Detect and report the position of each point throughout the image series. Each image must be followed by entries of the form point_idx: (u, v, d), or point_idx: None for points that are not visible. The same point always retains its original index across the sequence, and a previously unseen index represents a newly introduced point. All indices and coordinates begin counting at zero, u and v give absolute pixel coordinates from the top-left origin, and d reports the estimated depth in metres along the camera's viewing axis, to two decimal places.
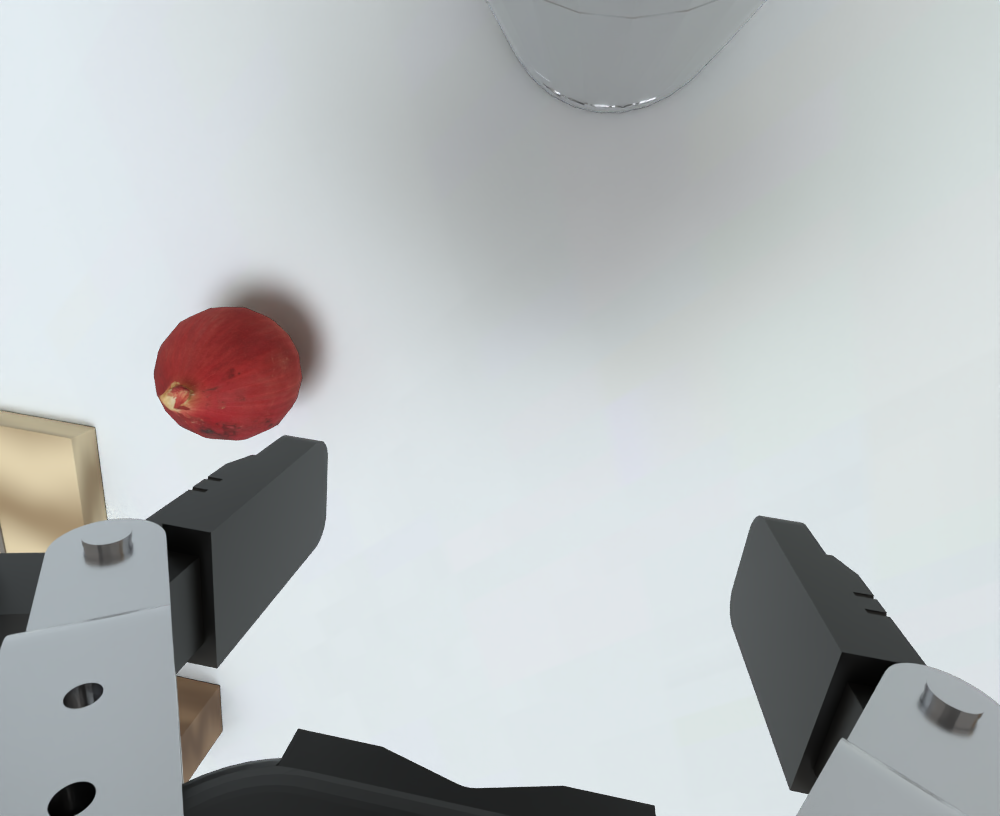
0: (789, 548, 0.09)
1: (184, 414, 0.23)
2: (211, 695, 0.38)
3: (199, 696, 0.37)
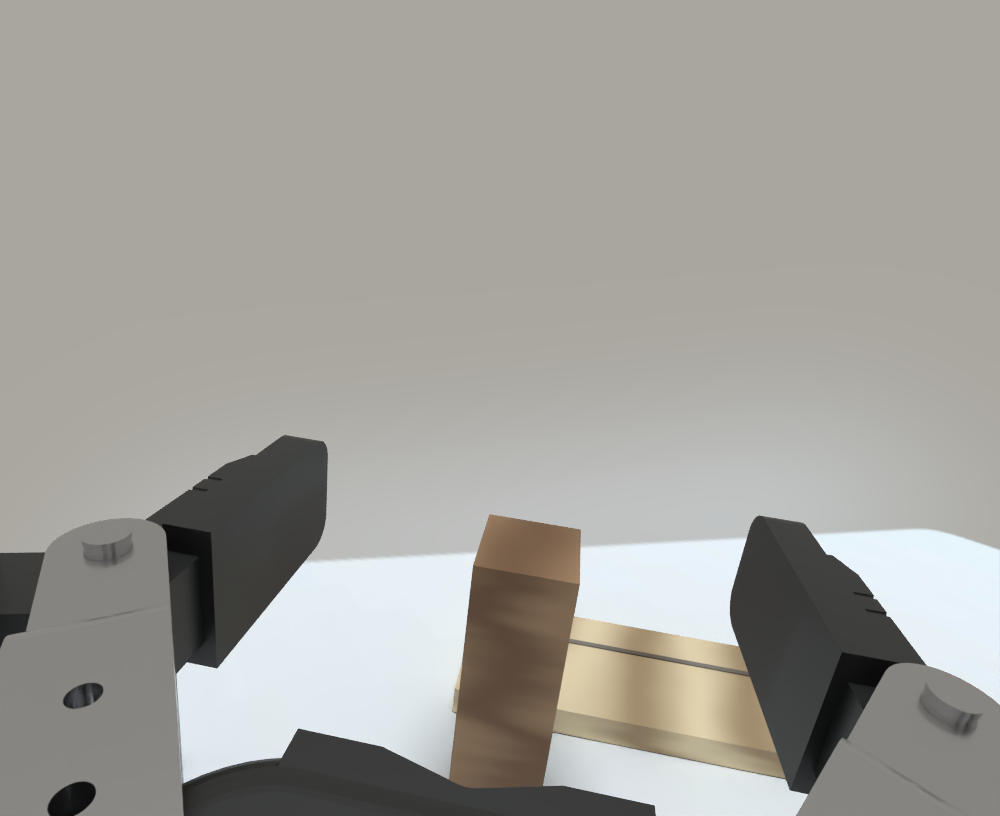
0: (789, 548, 0.09)
1: None
2: None
3: None
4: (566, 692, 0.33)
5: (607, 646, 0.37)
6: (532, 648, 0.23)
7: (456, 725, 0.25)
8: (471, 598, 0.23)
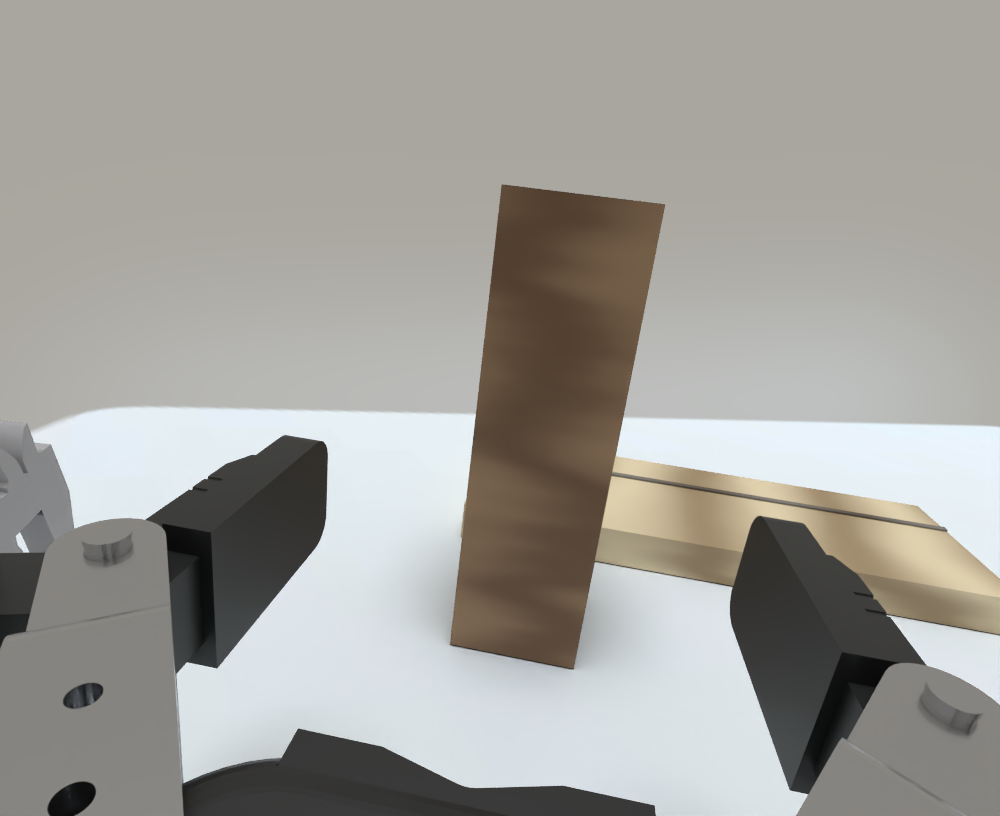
0: (789, 548, 0.09)
1: None
2: (577, 647, 0.19)
3: None
4: (609, 513, 0.26)
5: (655, 480, 0.29)
6: (587, 328, 0.15)
7: (471, 471, 0.17)
8: (497, 246, 0.15)
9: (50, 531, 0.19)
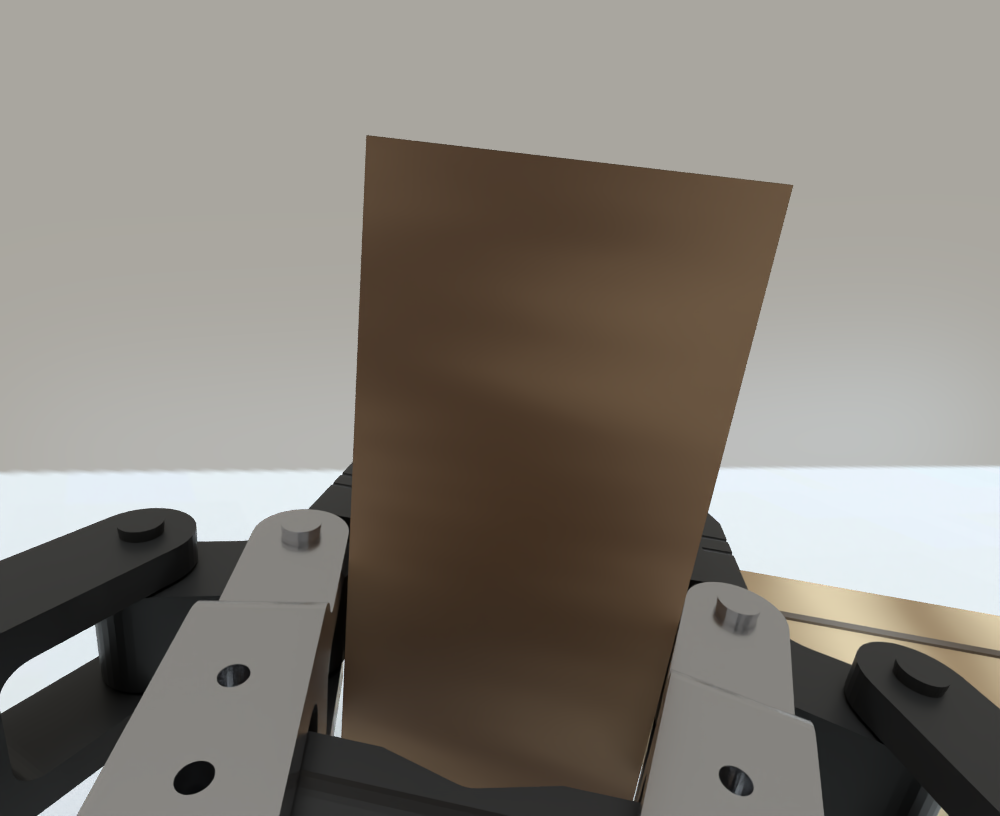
0: None
1: None
2: None
3: None
4: None
5: None
6: (585, 481, 0.07)
7: None
8: (367, 289, 0.06)
9: None
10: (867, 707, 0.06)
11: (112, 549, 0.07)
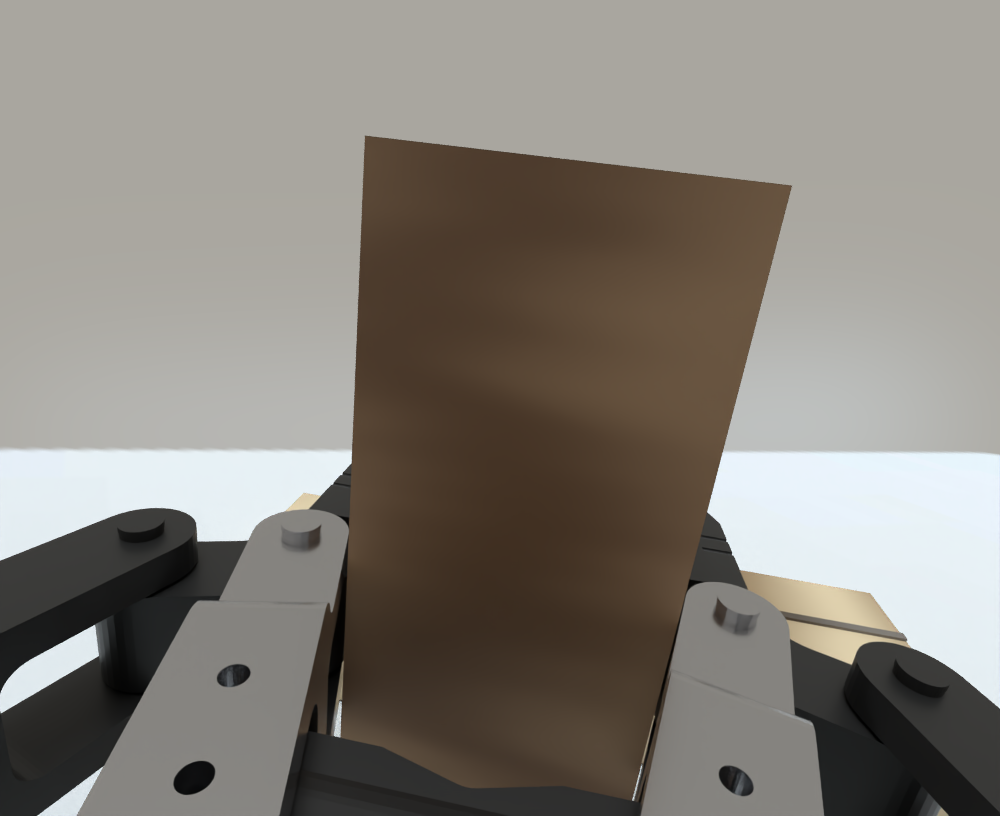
0: None
1: None
2: None
3: None
4: None
5: None
6: (583, 482, 0.07)
7: None
8: (366, 290, 0.06)
9: None
10: (867, 707, 0.06)
11: (112, 549, 0.07)
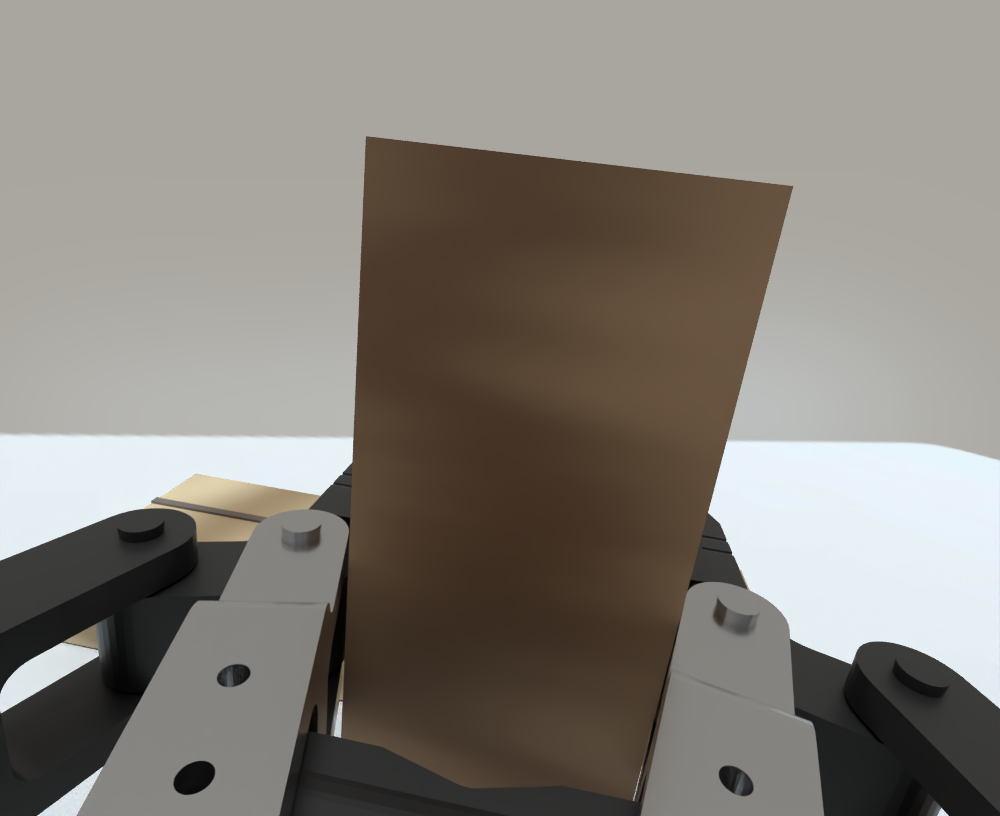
0: None
1: None
2: None
3: None
4: None
5: None
6: (584, 482, 0.07)
7: None
8: (367, 291, 0.06)
9: None
10: (867, 707, 0.06)
11: (112, 549, 0.07)
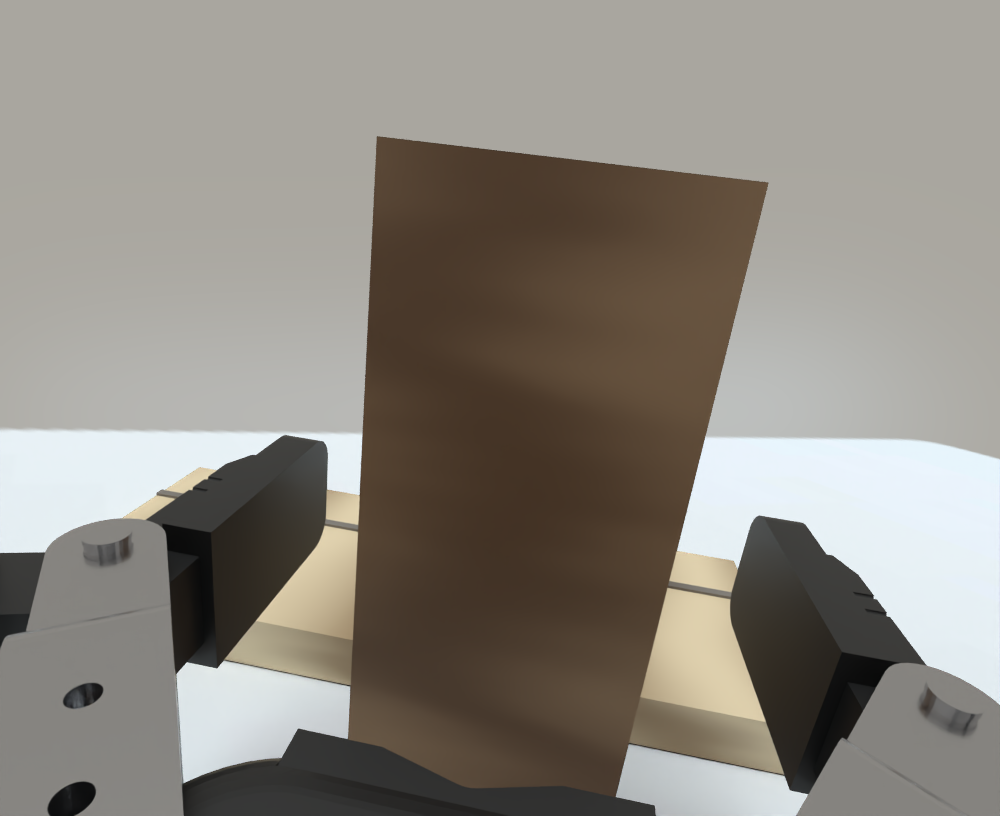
0: (789, 548, 0.09)
1: None
2: None
3: None
4: None
5: None
6: (578, 458, 0.07)
7: (352, 715, 0.09)
8: (376, 279, 0.07)
9: None
10: None
11: None
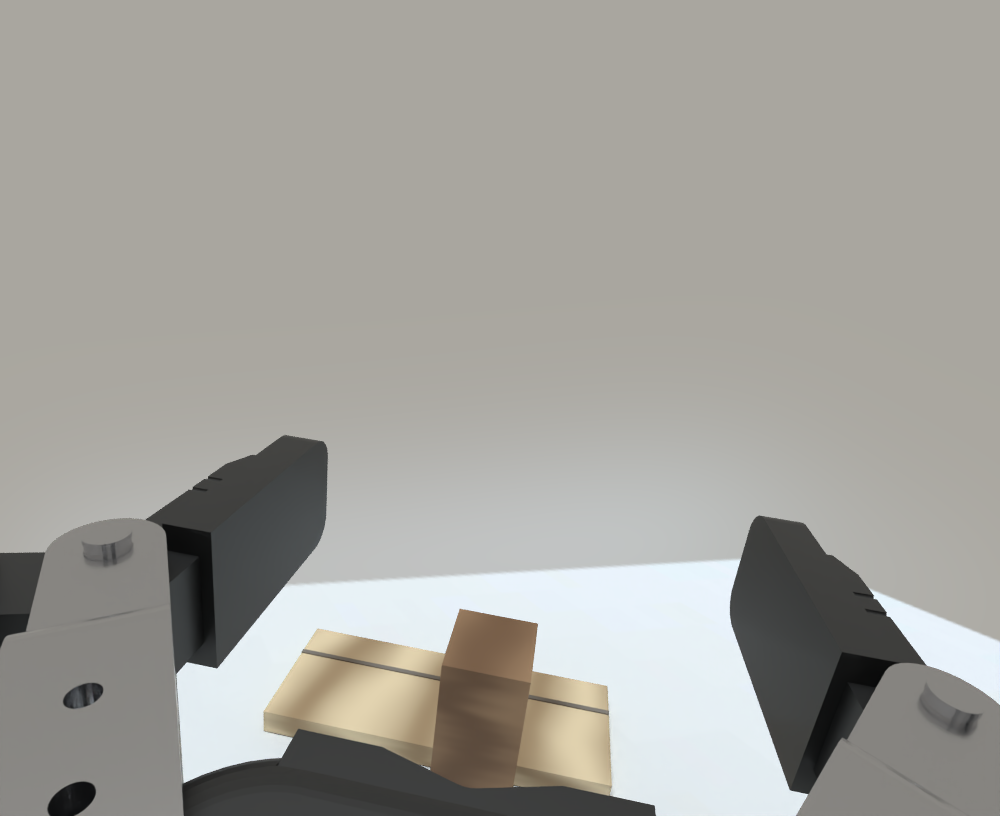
0: (789, 548, 0.09)
1: None
2: None
3: None
4: (363, 714, 0.38)
5: (417, 672, 0.42)
6: (492, 732, 0.27)
7: None
8: (440, 691, 0.27)
9: None
10: None
11: None
